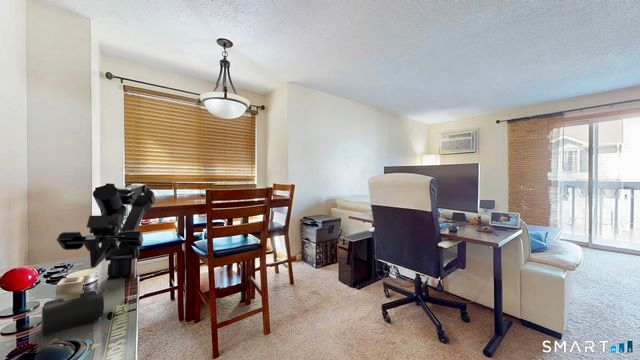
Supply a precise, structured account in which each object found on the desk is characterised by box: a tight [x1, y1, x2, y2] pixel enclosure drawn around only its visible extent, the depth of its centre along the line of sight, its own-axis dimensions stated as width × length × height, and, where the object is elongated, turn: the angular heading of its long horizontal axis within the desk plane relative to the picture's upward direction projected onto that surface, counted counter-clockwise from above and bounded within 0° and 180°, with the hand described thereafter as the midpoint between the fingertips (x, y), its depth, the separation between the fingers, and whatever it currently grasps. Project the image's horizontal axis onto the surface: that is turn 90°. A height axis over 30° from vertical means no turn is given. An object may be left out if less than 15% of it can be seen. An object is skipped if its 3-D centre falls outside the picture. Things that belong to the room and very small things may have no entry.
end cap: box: [40, 290, 105, 337], centre depth 58 cm, size 10×7×7 cm
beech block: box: [54, 276, 85, 301], centre depth 71 cm, size 5×5×5 cm
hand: (93, 266), depth 66 cm, fingers closed
